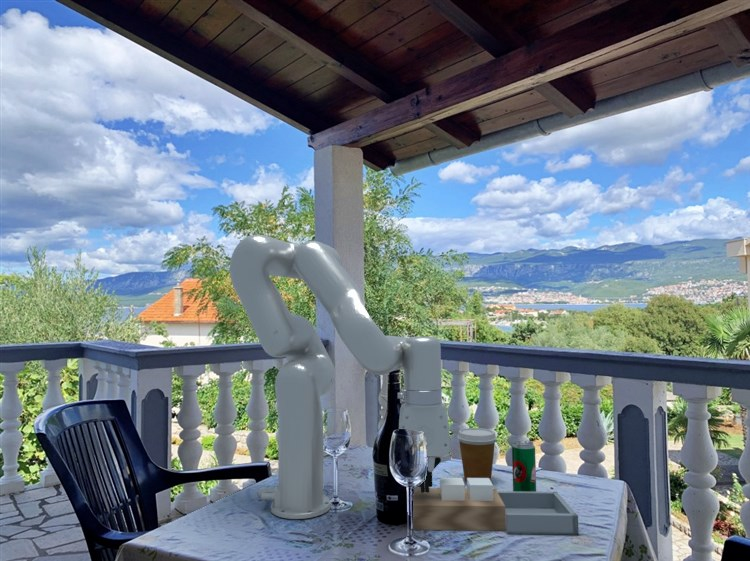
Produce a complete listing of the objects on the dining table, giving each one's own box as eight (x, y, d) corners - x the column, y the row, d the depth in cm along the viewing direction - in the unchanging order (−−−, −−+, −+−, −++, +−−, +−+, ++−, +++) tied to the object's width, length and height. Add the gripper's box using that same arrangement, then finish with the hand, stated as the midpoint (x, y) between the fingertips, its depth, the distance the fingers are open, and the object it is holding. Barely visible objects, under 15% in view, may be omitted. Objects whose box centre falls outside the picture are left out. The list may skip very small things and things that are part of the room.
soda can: (537, 500, 113) (536, 445, 114) (513, 499, 114) (512, 444, 115) (535, 493, 118) (533, 439, 119) (512, 491, 119) (511, 438, 120)
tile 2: (470, 500, 101) (469, 485, 101) (467, 492, 105) (466, 477, 105) (493, 501, 101) (493, 485, 101) (489, 493, 105) (489, 478, 105)
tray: (507, 534, 96) (507, 514, 96) (494, 508, 109) (494, 491, 109) (578, 535, 95) (578, 515, 95) (557, 508, 108) (556, 491, 108)
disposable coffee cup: (451, 477, 129) (450, 429, 130) (485, 474, 132) (484, 426, 133) (469, 489, 120) (468, 437, 121) (505, 485, 123) (504, 434, 124)
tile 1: (441, 500, 101) (441, 484, 101) (440, 492, 106) (439, 477, 106) (464, 500, 101) (464, 485, 101) (462, 492, 105) (461, 477, 105)
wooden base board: (410, 529, 98) (410, 505, 99) (409, 509, 108) (409, 487, 109) (505, 530, 97) (505, 506, 98) (496, 510, 107) (495, 488, 108)
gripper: (385, 400, 101) (387, 496, 100) (462, 400, 101) (464, 497, 99) (386, 395, 109) (388, 484, 108) (458, 394, 108) (460, 484, 107)
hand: (424, 490), depth 103 cm, fingers closed
